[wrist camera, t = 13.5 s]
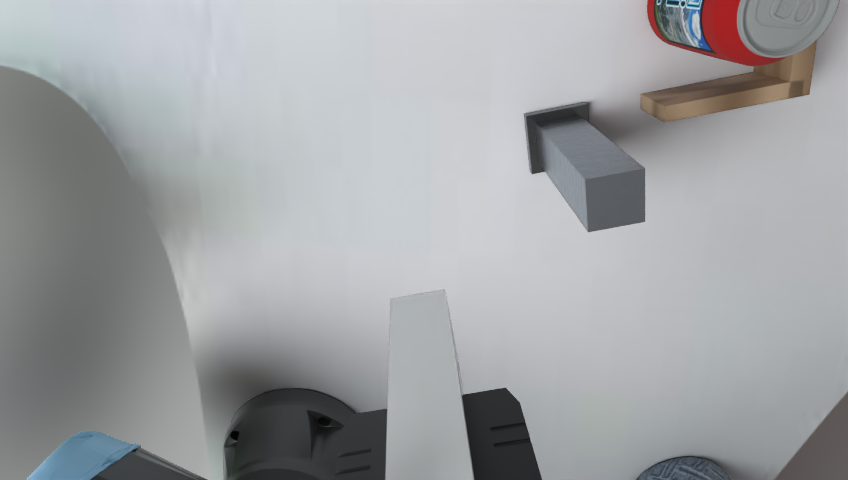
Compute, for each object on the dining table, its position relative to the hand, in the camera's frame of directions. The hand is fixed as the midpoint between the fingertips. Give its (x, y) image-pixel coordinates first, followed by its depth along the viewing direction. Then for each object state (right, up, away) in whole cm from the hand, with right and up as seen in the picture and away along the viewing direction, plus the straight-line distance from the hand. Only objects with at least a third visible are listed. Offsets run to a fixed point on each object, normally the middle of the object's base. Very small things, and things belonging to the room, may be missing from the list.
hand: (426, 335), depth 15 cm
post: (+11, +11, +30) cm, 33 cm away
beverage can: (+20, +21, +25) cm, 38 cm away
